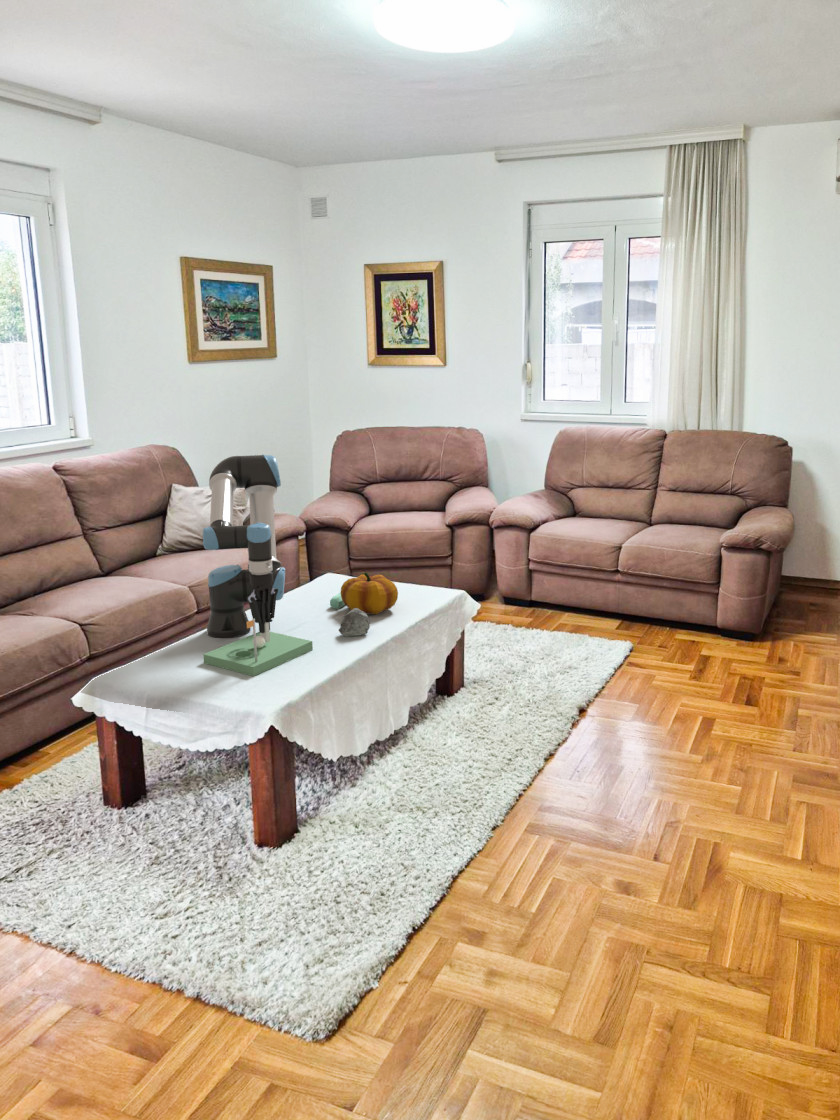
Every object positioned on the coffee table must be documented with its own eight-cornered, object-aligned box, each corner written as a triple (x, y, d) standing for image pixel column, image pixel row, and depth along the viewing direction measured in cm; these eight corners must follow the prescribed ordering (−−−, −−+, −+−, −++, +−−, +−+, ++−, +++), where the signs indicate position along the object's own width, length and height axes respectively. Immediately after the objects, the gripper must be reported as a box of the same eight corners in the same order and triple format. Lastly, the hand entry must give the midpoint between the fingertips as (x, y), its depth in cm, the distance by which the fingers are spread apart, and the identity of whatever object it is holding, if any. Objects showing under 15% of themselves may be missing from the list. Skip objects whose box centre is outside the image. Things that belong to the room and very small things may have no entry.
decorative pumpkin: (354, 622, 333) (352, 582, 330) (335, 606, 353) (333, 568, 349) (405, 614, 341) (404, 575, 337) (383, 599, 361) (382, 562, 357)
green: (264, 638, 317) (261, 591, 313) (312, 649, 305) (310, 600, 301) (203, 662, 295) (199, 612, 291) (253, 676, 283) (250, 623, 279)
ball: (251, 634, 298) (259, 635, 302) (249, 646, 298) (257, 647, 301) (260, 636, 296) (268, 636, 300) (258, 648, 296) (266, 649, 299)
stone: (353, 610, 314) (360, 601, 323) (332, 626, 317) (340, 617, 326) (371, 630, 315) (378, 621, 324) (351, 647, 318) (358, 637, 327)
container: (337, 594, 347) (366, 577, 369) (324, 599, 350) (354, 581, 372) (342, 609, 347) (372, 590, 369) (330, 613, 350) (360, 594, 372)
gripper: (255, 578, 289) (260, 648, 294) (283, 568, 299) (287, 637, 305) (238, 575, 293) (243, 644, 298) (266, 566, 303) (270, 633, 309)
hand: (265, 641), depth 302 cm, fingers closed
